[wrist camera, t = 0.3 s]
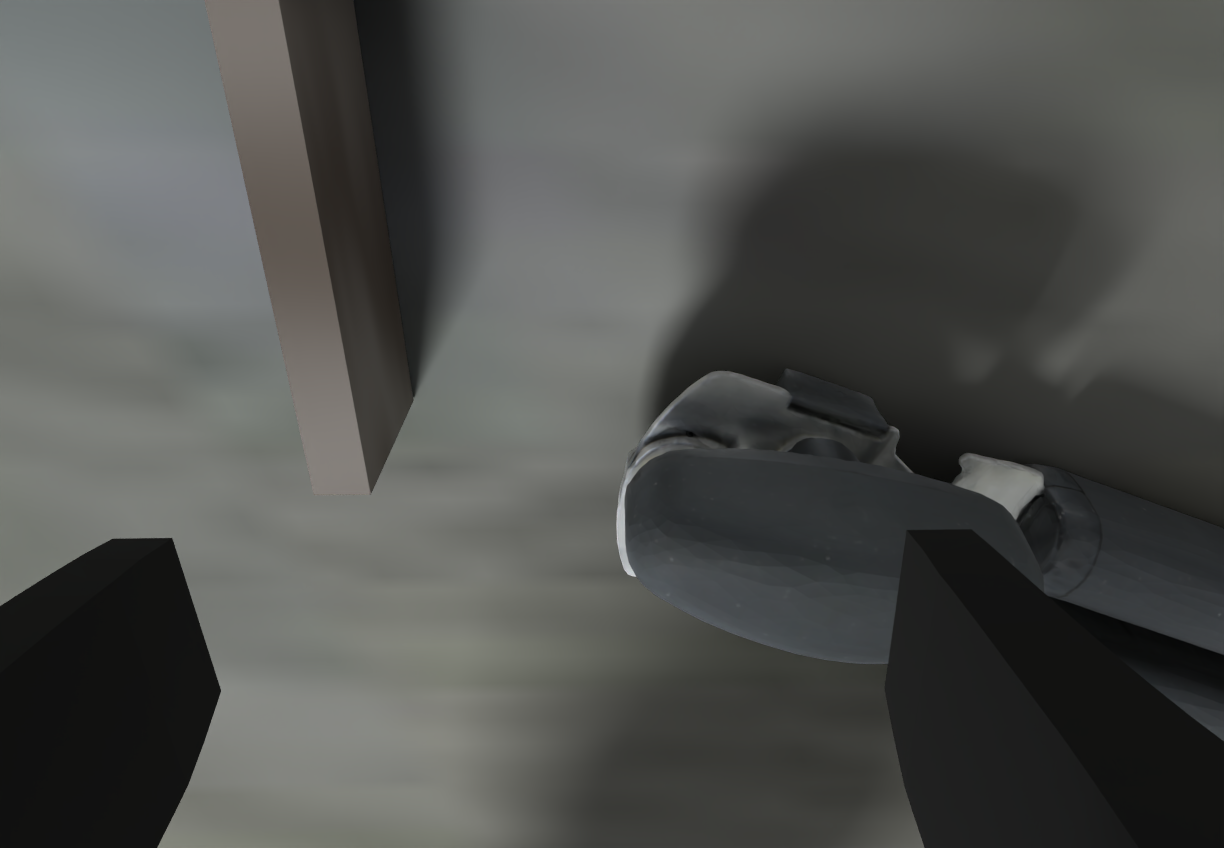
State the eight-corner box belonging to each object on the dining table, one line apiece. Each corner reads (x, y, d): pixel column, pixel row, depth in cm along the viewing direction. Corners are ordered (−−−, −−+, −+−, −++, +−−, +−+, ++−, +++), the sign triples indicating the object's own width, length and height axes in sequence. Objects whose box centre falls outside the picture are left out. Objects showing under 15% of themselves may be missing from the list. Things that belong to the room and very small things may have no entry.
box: (1793, 383, 18) (2019, 482, 15) (365, 400, 20) (314, 495, 17) (2145, -162, 14) (2562, -175, 11) (277, -96, 15) (184, -91, 12)
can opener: (579, 503, 21) (556, 723, 15) (665, 303, 19) (672, 478, 13) (1298, 733, 24) (1496, 991, 18) (1453, 584, 21) (1735, 828, 16)
